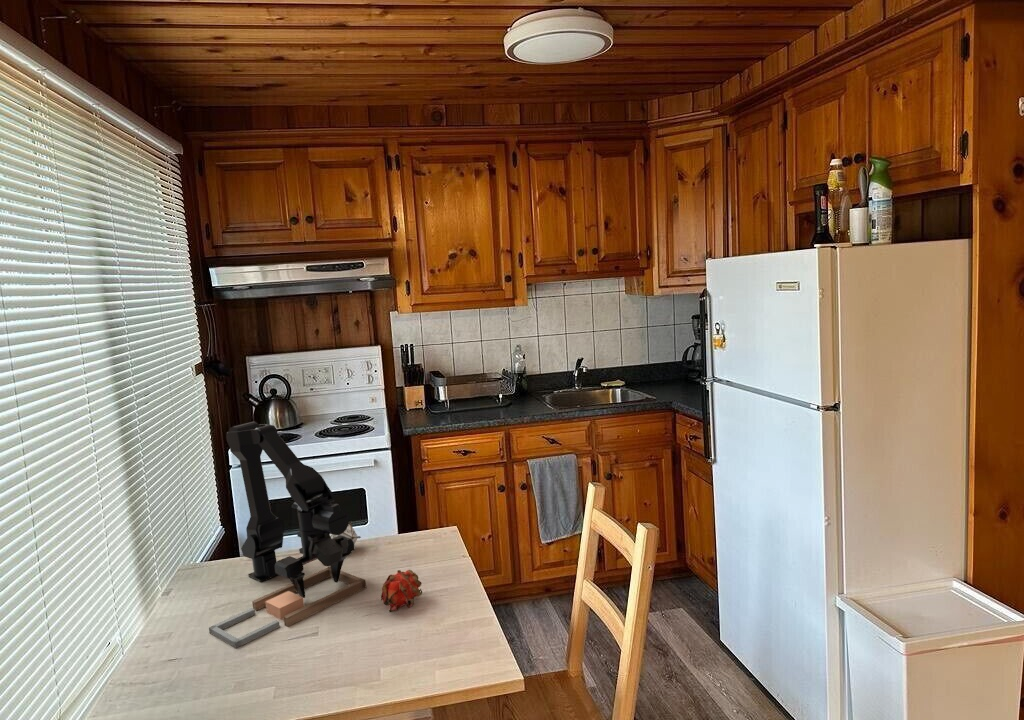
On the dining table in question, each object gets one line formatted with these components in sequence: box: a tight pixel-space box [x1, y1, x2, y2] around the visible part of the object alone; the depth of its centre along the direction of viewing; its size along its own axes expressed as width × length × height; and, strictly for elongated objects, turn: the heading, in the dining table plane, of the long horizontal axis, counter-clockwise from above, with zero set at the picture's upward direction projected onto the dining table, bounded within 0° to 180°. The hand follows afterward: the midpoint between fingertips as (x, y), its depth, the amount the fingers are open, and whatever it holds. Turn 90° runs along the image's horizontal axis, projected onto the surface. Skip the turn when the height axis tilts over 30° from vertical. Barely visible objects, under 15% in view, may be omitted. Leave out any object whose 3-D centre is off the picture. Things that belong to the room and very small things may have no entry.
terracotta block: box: [265, 591, 305, 621], centre depth 163 cm, size 6×6×3 cm
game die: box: [330, 521, 362, 555], centre depth 194 cm, size 9×8×10 cm
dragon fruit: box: [380, 569, 423, 613], centre depth 160 cm, size 8×8×12 cm
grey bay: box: [208, 607, 281, 649], centre depth 155 cm, size 11×10×1 cm
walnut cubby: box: [251, 566, 367, 627], centre depth 168 cm, size 14×21×2 cm
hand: (320, 589), depth 170 cm, fingers open, 9 cm apart
